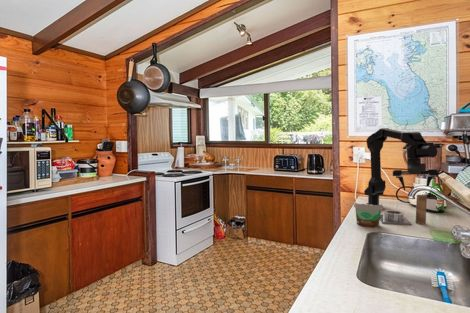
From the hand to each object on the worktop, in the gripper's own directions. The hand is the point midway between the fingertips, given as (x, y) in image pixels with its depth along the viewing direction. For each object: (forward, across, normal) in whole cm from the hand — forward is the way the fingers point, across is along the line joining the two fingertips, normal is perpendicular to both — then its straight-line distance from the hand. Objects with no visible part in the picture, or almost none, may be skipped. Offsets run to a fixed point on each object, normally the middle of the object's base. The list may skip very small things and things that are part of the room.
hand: (415, 190), depth 146 cm
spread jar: (+13, +7, +25) cm, 29 cm away
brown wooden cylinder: (+14, +1, -5) cm, 15 cm away
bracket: (+14, -10, -6) cm, 18 cm away
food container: (+14, -20, -20) cm, 31 cm away
